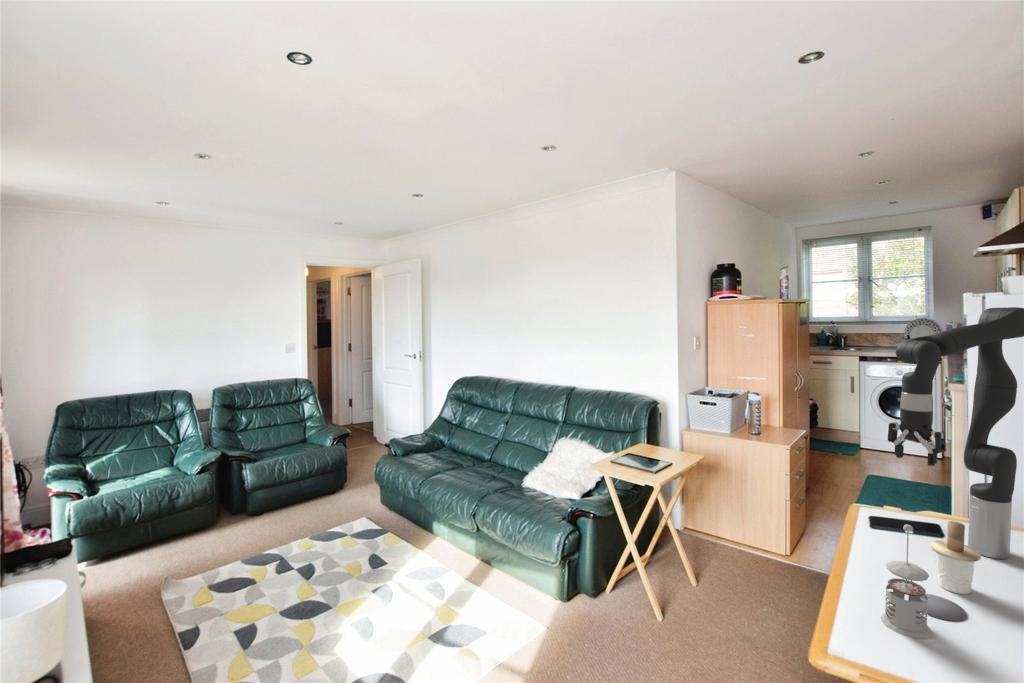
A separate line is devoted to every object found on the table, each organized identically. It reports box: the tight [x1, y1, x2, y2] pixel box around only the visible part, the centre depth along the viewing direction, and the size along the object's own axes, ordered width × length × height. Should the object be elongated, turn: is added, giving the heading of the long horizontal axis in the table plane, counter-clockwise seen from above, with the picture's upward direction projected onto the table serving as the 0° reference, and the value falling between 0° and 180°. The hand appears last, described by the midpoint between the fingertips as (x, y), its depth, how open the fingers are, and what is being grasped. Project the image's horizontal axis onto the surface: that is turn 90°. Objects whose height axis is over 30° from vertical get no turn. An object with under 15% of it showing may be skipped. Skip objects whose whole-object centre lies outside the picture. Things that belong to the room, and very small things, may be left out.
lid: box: [930, 520, 982, 563], centre depth 133 cm, size 10×10×8 cm
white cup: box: [935, 552, 975, 595], centre depth 134 cm, size 8×8×10 cm
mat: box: [921, 593, 967, 622], centre depth 126 cm, size 11×11×1 cm
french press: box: [879, 523, 933, 639], centre depth 119 cm, size 10×12×25 cm
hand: (914, 461), depth 147 cm, fingers open, 8 cm apart
